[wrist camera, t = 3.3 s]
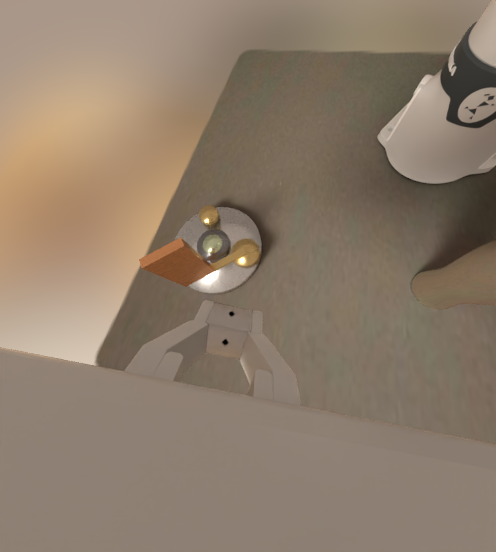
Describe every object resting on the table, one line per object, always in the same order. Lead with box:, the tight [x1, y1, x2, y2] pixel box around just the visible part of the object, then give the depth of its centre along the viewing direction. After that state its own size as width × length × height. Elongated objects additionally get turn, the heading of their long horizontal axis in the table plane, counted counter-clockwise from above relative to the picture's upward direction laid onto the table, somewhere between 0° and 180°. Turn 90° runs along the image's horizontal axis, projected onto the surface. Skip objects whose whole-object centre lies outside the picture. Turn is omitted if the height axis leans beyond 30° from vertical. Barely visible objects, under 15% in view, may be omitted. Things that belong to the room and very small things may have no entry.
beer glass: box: [411, 239, 496, 310], centre depth 21 cm, size 7×7×15 cm
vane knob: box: [139, 238, 260, 287], centre depth 27 cm, size 14×5×12 cm, turn 117°
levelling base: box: [175, 205, 262, 294], centre depth 34 cm, size 17×17×3 cm
